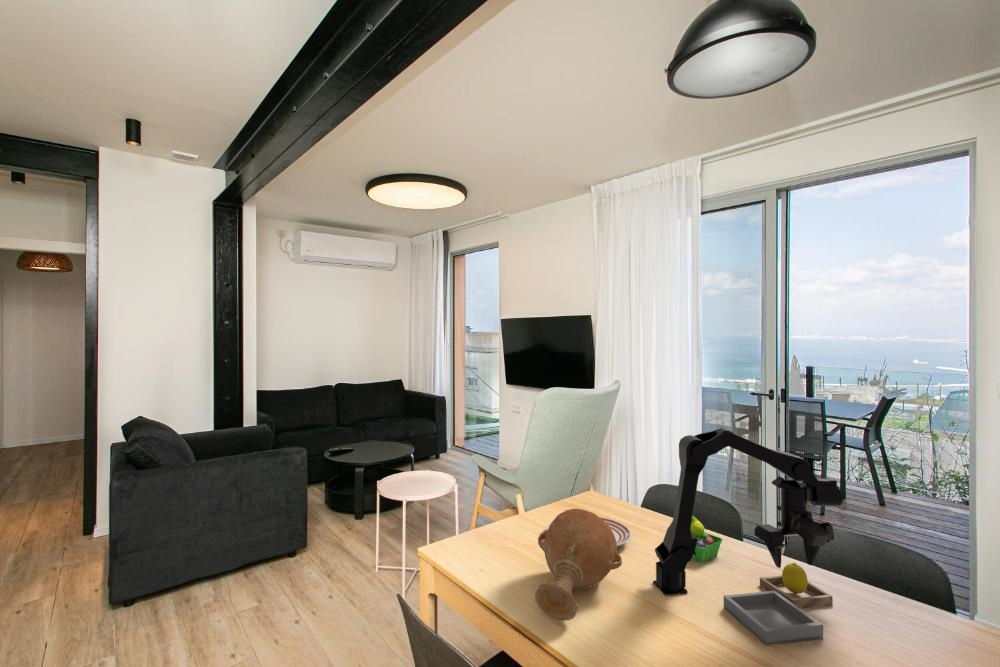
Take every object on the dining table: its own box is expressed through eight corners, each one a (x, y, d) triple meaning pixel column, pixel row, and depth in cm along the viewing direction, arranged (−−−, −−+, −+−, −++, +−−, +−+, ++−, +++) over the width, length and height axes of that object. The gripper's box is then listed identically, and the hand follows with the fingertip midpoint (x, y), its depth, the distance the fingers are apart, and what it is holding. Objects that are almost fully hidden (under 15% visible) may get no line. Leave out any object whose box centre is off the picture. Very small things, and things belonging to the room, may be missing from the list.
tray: (766, 645, 98) (766, 631, 98) (723, 608, 112) (723, 595, 112) (823, 638, 100) (823, 624, 101) (774, 602, 114) (774, 590, 114)
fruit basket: (702, 566, 133) (702, 526, 133) (675, 555, 140) (675, 517, 140) (723, 556, 140) (723, 518, 140) (696, 545, 147) (696, 509, 147)
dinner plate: (531, 544, 147) (531, 534, 147) (566, 517, 170) (566, 508, 171) (616, 567, 133) (616, 555, 133) (641, 533, 156) (641, 523, 156)
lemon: (811, 601, 115) (811, 569, 115) (787, 599, 116) (786, 567, 116) (802, 590, 120) (801, 559, 120) (778, 587, 121) (778, 557, 122)
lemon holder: (793, 608, 112) (793, 600, 112) (759, 585, 123) (759, 577, 123) (832, 604, 114) (832, 596, 114) (796, 581, 125) (796, 574, 125)
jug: (636, 533, 127) (619, 602, 99) (596, 577, 133) (569, 654, 105) (578, 484, 132) (546, 536, 105) (542, 528, 138) (503, 589, 111)
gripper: (786, 518, 109) (786, 585, 109) (853, 514, 112) (854, 578, 112) (752, 502, 120) (753, 563, 120) (815, 498, 123) (815, 557, 123)
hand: (794, 565), depth 118 cm, fingers open, 9 cm apart
